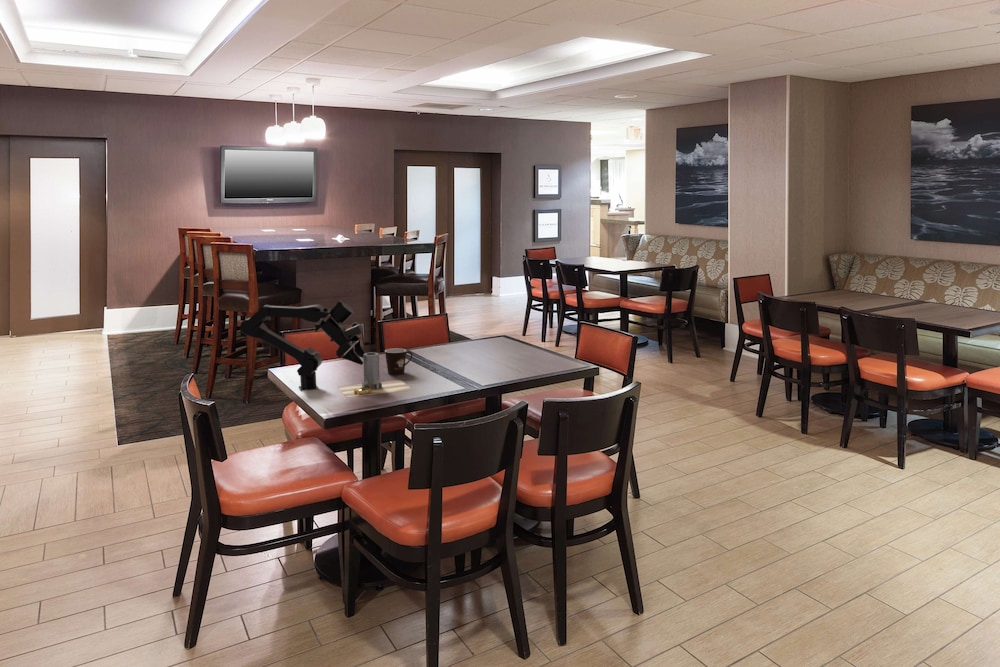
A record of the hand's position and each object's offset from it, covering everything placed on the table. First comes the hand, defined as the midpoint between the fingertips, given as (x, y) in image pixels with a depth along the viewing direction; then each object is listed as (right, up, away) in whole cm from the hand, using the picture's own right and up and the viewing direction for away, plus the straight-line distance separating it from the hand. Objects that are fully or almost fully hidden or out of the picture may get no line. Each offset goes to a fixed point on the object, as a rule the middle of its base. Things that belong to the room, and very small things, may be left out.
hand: (364, 361), depth 280 cm
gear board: (+4, -11, +1) cm, 11 cm away
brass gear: (0, -11, -5) cm, 13 cm away
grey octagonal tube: (+2, -10, +2) cm, 10 cm away
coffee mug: (+10, -6, +25) cm, 27 cm away
